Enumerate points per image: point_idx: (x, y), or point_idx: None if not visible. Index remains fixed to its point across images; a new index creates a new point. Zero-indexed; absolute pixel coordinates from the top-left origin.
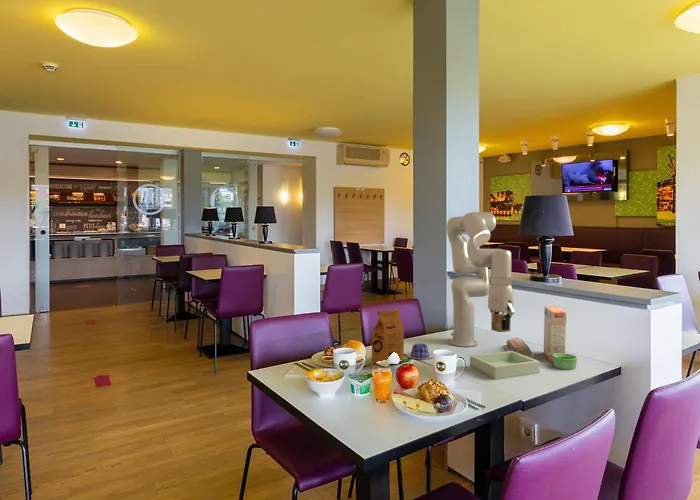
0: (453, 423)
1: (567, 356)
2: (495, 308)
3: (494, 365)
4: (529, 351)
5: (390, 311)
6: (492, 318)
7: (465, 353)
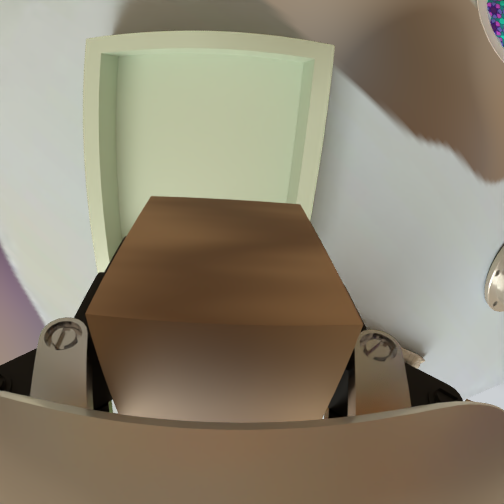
0: None
1: None
2: (191, 482)
3: (110, 49)
4: None
5: None
6: (314, 282)
7: (466, 192)
